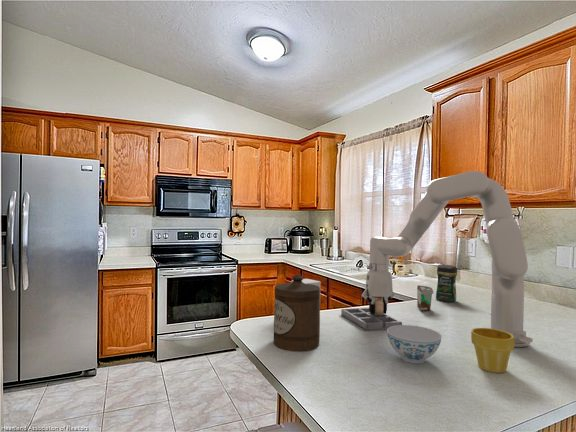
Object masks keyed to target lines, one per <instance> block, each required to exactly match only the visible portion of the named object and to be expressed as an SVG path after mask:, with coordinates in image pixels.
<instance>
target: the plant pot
mask: <svg viewBox="0 0 576 432" xmlns="http://www.w3.org/2000/svg"><path fill="white" fill-rule="evenodd" d="M470 333H471V335H470V337H471V338H470V339H471V343H472V344H473V345H474V350H475V355H476V359H477V364H478V367H479V368H480V369H481V370H483V371H486V372H490V373H494V374H502V373H505V372H506V371H507V369H508V364H509V361H510V356H511V353H512V351H513V350H514V348H515V347H514V336H513V335H512V334H510V333H508V332H505V331H502V330H497V329H491V327H490V328H489V327H475V328H473V329H471V332H470Z"/></svg>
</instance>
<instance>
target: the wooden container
mask: <svg viewBox="0 0 576 432" xmlns="http://www.w3.org/2000/svg"><path fill="white" fill-rule="evenodd" d="M303 279H304V277H303V276H302V275H301V274H298V273H297V274H294V275H293V276H292V279H291V280H294V281H293V282H292V283H291V282H289V283H279V284H276V285H275V286H274V310H273V312H274V314H273V344H274V345H275V346H276V347H277V348H279V349H282V350H286V351H293V352H305V351H311V350H314V349H316V348H318V347H319V345H320V340H321V339H320V336H321V335H320V332H321V331H320V330H321V328H320V327H321V326H320V325H321V324H320V323H321V290H320V287H319V286H316V285H312V284H304V283H303V282H302V280H303Z"/></svg>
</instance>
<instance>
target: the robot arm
mask: <svg viewBox="0 0 576 432" xmlns="http://www.w3.org/2000/svg"><path fill="white" fill-rule="evenodd" d="M426 187H427V188H426V192H425V193H424V195H423V196H422V198H421V199H420V200H419V201H418V203H417V204H416V205H415V207H414V208H413V209H412V210H411V212H410V215H409V219H408V221H407V224H406V225H405V226H404V228H403V229H402V230H401V232H400V233H399V235H398V236H397V237H390V238H388V237H386V236H373V237H371V238H370V241H369V263H368V264H366V269H368V271H367V274H366V279H365V289H364V291H363V292H362V293H361V297H363V298H364V299H365V300H366V301H367V303H368V304H369V305H368V308H369V311H370V313H372V314H375V304H374V301H375V299H376V298H381V300H382V301H383V303H384V314H387V311H388V304H389V302H390V300H391V299H393V298H394V297H395V293H394V290H393V279H392V278H393V276H392V273H391V270H390V269H389V268H390V267H389V266H390V263H389V262H390V257H395V258H400V257H404V256H405V255H408V254H409V253H410V252H411V251H412V250H413V248H414V247H415V246H416V245H417V244H418V242H419V241H420V240H421V238H422V237H423V235H425V233H426V232H427V231H428V230H429V228H430V227H431V225H432V224H433V223H434V221H435V220H436V219H437V217H438V216H439V215H440V214H441V212H442V211H443V210H444V208H445V207H446V206H447V205H448V203H450V201H454V200H459V199H464V198H469V197H471V198H474V199H475V198H476V199H477V200H479V202H480V204H481V207H482V211H483V215H484V220H485V221H484V222H485V225H486V226H485V227H486V229H485V230H486V236H487V240H488V241H487V242H488V244H489V245H488V246H489V251H490V254H491V303H490V304H491V306H490V307H491V310H490V312H491V313H490V328H491V329H497V330H502V331H505V332H508V333H510V334H512V335H513V336H514V348H523V347H524V348H525V347H528V346H529V345H531V343H532V342H533V340H534V339H533V338H531V337H529V336H527V331H524V321H525V320H524V319H525V318H524V315H525V314H524V313H525V312H524V311H525V309H524V308H525V275H526V273H527V271H528V267H529V265H528V258H527V257H528V256H527V252H526V248H525V243H524V240H523V234H522V231H521V227H520V226H519V224H518V223H517V222H516V221H515V219H514V214H513V209H512V206H511V202H510V199H509V196H508V193H507V191H506V190H505V188H504V187H503V186H502V185H501V184H500V183H499V182H498V181H495V179H492V178H490V177H488V175H486V174H485V173H484V172H482V171H479V170H470V171H466V172H461V173H458V174H454V175H449V176H446V177H441V178H440V177H439V178H437V179H433V180H431V181H430V182H429V183H428V185H427V186H426Z"/></svg>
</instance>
